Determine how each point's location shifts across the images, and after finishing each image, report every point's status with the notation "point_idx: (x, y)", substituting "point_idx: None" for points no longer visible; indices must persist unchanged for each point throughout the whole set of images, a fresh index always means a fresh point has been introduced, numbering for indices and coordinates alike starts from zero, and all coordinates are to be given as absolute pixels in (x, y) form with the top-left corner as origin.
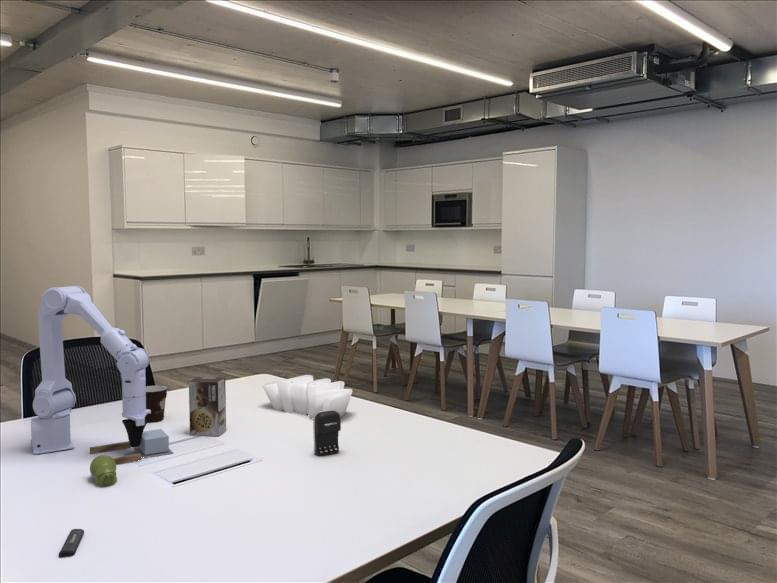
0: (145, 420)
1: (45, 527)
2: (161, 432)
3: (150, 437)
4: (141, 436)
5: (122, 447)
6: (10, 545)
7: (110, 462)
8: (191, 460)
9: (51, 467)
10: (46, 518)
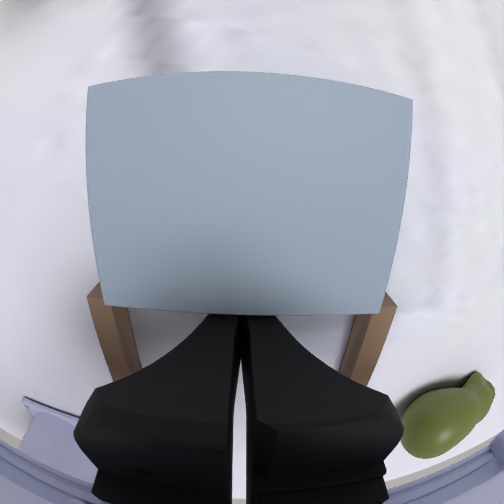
0: (331, 439)
1: (493, 424)
2: (227, 101)
3: (345, 258)
4: (283, 326)
5: (127, 325)
6: (490, 437)
7: (477, 418)
8: (498, 99)
9: (240, 472)
10: (477, 432)
